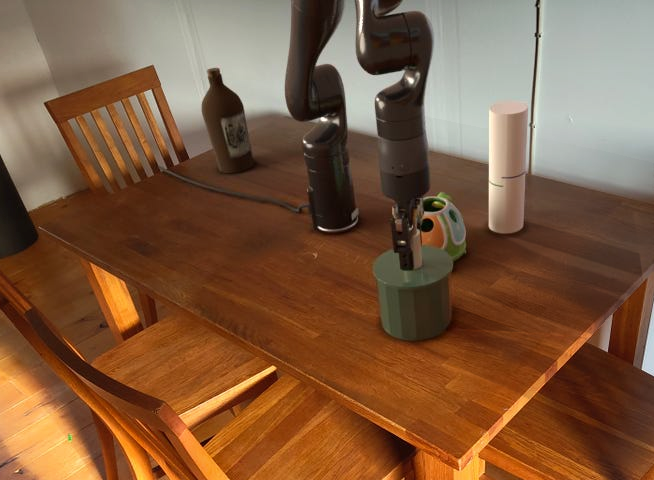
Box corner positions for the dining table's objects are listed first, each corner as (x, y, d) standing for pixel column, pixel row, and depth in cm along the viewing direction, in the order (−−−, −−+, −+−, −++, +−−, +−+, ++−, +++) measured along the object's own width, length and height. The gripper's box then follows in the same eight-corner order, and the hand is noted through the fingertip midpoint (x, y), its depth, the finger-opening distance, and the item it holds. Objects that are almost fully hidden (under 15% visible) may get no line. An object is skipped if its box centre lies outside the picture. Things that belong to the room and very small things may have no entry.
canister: (374, 338, 115) (367, 286, 108) (389, 298, 124) (384, 248, 117) (446, 342, 112) (443, 289, 105) (456, 300, 121) (454, 249, 115)
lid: (365, 291, 108) (359, 252, 104) (382, 249, 118) (378, 212, 114) (447, 294, 105) (445, 255, 101) (458, 251, 115) (457, 213, 111)
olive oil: (209, 168, 181) (183, 72, 165) (241, 155, 186) (219, 60, 170) (231, 178, 174) (206, 78, 159) (264, 163, 180) (242, 66, 164)
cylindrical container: (522, 235, 137) (527, 113, 121) (487, 235, 139) (487, 114, 123) (523, 219, 142) (528, 100, 127) (489, 219, 144) (490, 101, 128)
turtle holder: (476, 233, 140) (476, 179, 132) (458, 279, 127) (456, 223, 119) (419, 229, 143) (415, 177, 136) (395, 274, 130) (390, 219, 123)
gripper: (389, 142, 106) (397, 235, 116) (368, 182, 95) (380, 280, 106) (436, 142, 104) (440, 236, 115) (420, 182, 94) (426, 282, 104)
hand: (411, 257), depth 110 cm, fingers open, 7 cm apart
